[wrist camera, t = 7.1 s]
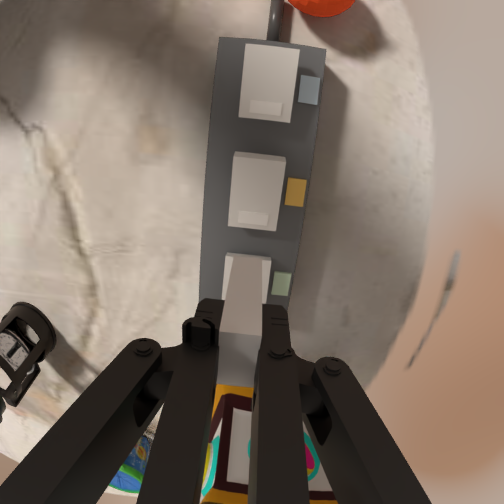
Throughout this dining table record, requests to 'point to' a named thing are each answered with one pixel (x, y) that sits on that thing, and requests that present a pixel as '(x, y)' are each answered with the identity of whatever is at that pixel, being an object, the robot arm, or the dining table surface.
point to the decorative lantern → (245, 453)
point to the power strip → (261, 142)
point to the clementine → (322, 6)
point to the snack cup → (132, 468)
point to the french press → (22, 351)
